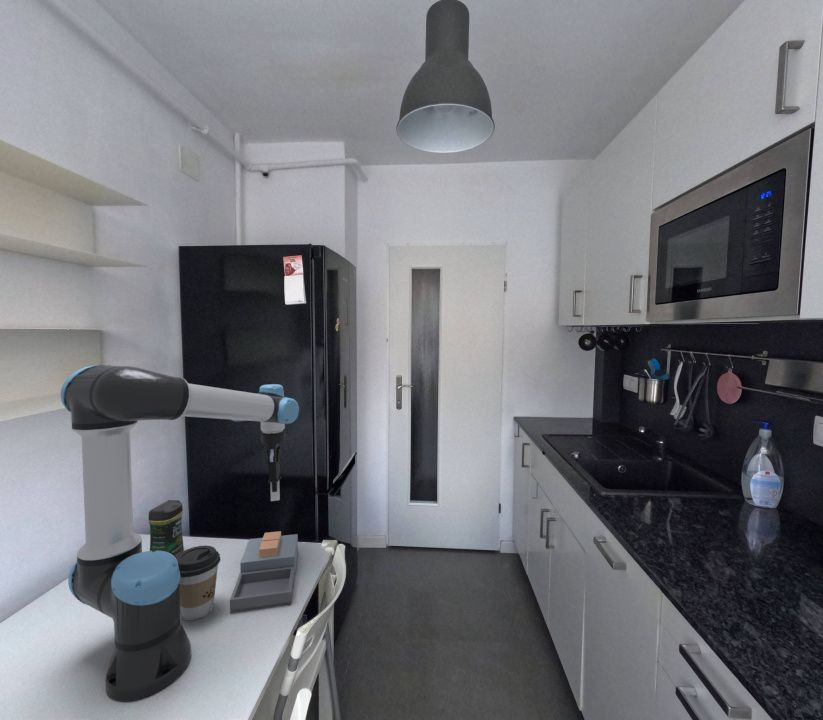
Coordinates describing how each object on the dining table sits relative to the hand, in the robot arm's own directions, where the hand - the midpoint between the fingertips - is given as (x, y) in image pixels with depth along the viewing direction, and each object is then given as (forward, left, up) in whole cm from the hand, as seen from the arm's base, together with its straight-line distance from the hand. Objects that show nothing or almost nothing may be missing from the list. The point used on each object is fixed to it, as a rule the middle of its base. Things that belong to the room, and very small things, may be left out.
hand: (275, 499), depth 132 cm
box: (-25, 0, -17) cm, 30 cm away
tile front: (-14, 0, -11) cm, 18 cm away
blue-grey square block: (-11, 0, -17) cm, 20 cm away
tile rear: (-9, 0, -11) cm, 14 cm away
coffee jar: (0, +33, -17) cm, 37 cm away
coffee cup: (-28, +16, -17) cm, 37 cm away
